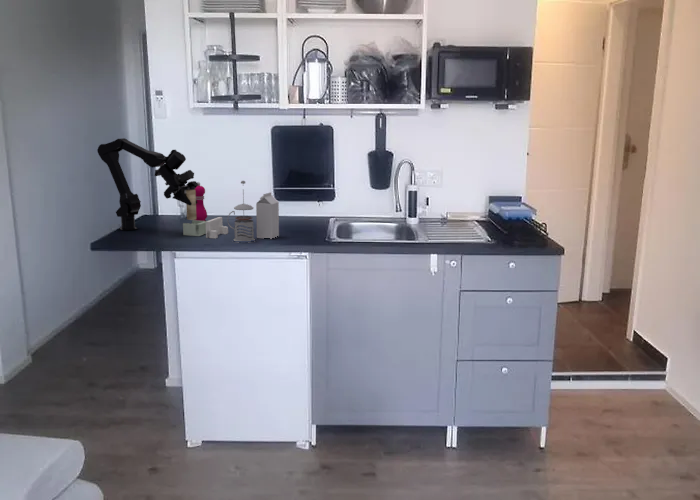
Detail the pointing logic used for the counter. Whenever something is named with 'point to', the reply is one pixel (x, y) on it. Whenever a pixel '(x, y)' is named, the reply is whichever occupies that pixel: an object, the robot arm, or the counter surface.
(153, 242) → the counter surface
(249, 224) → the french press
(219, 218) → the backstop wall
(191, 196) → the dowel
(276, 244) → the counter surface
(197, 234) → the cradle
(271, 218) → the milk carton
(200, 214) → the pepper mill
